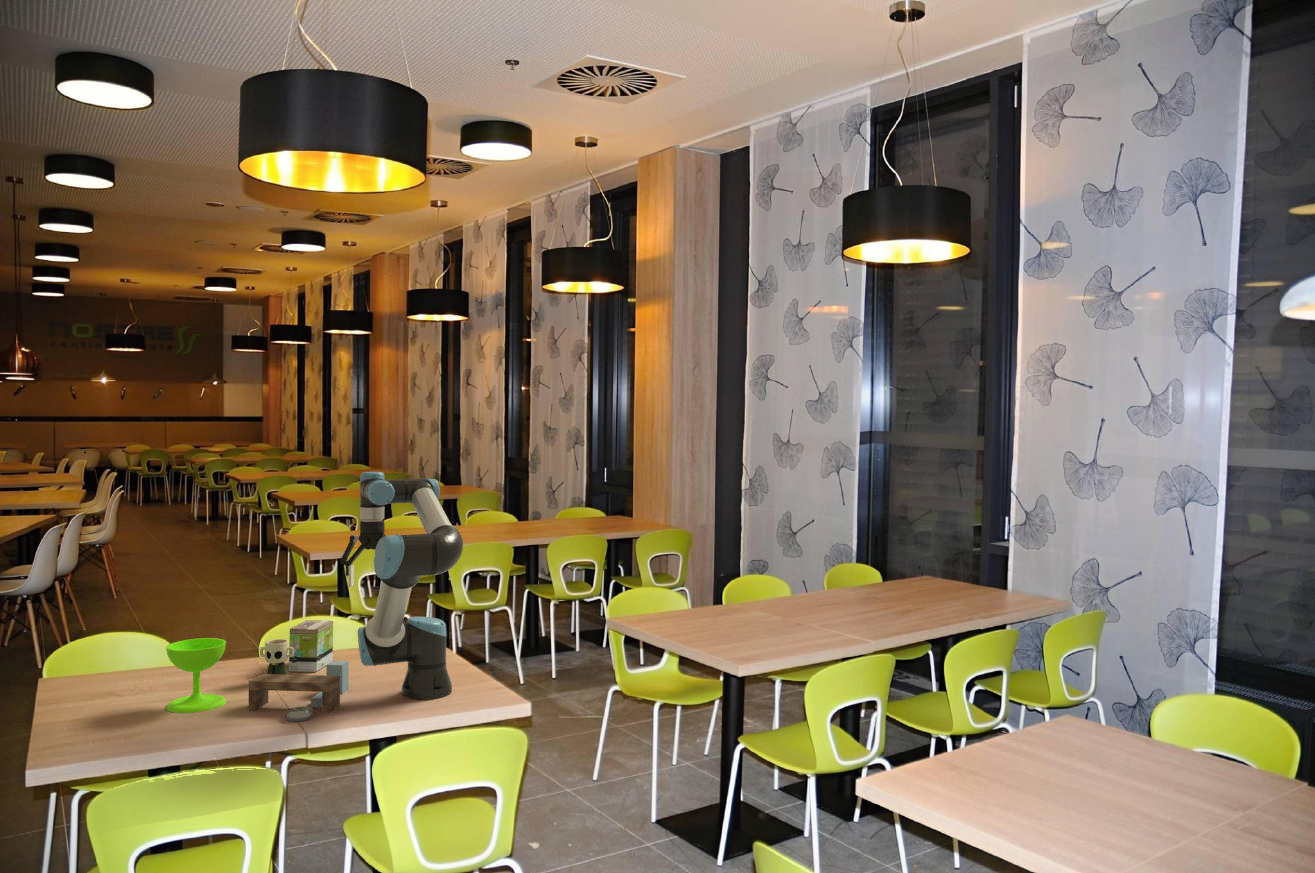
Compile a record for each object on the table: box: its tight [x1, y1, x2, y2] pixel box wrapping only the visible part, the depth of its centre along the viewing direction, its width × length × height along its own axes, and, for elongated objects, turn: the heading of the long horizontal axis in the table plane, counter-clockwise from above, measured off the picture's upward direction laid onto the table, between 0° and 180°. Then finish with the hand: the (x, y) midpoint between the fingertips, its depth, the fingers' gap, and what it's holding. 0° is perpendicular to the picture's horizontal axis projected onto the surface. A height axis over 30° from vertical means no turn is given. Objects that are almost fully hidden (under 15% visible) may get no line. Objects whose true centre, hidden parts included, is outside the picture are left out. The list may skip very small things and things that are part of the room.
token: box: [286, 706, 314, 723], centre depth 268 cm, size 7×7×2 cm
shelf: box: [248, 673, 341, 713], centre depth 278 cm, size 24×8×8 cm, turn 86°
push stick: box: [310, 660, 350, 708], centre depth 288 cm, size 18×5×9 cm, turn 176°
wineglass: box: [165, 637, 227, 714], centre depth 280 cm, size 16×16×18 cm
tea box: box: [288, 619, 334, 673], centre depth 324 cm, size 15×10×15 cm
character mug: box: [259, 638, 294, 675], centre depth 305 cm, size 11×7×13 cm, turn 90°
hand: (372, 586), depth 302 cm, fingers open, 13 cm apart
